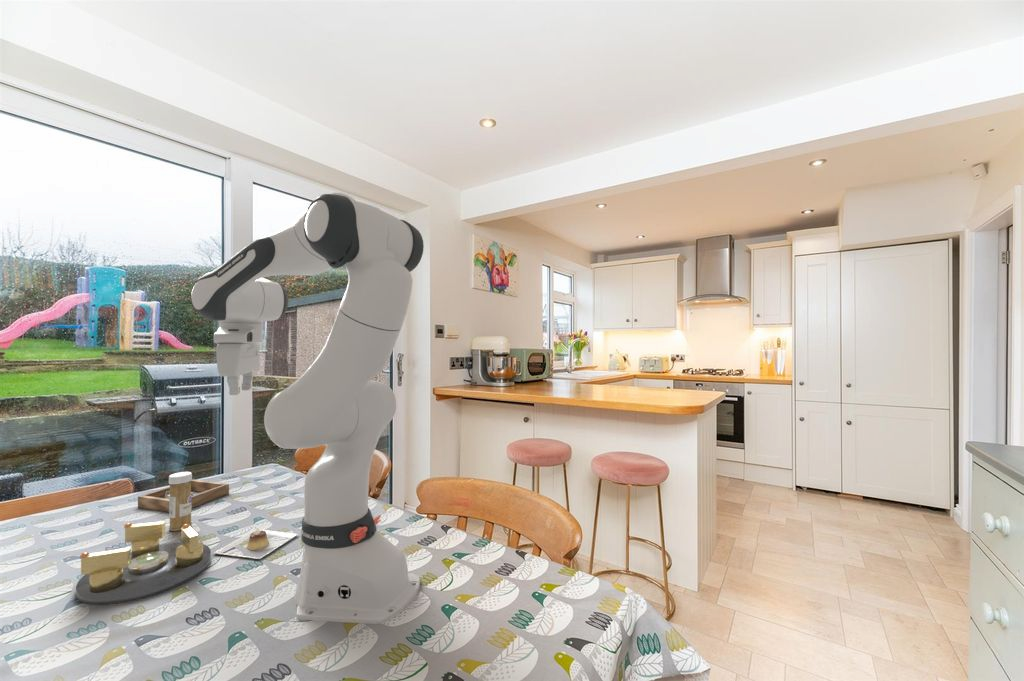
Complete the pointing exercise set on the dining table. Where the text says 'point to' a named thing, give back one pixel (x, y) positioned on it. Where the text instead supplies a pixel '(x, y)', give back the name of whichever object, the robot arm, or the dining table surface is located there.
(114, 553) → the knob left
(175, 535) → the dining table surface
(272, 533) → the dessert
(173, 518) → the sprinkles bottle
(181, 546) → the knob near
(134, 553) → the knob far
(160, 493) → the wooden tray
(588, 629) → the dining table surface
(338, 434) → the robot arm
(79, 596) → the plate
